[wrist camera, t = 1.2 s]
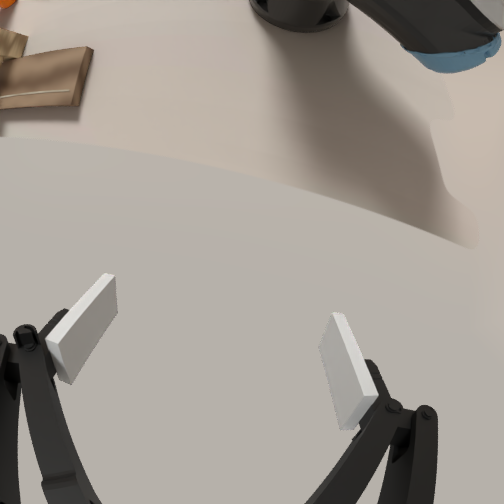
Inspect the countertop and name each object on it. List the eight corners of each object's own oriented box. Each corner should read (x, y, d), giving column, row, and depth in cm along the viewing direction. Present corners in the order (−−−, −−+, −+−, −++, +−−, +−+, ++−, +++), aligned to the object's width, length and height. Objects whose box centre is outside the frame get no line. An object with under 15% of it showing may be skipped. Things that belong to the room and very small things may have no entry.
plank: (-3, 66, 29) (-10, 65, 26) (93, 49, 31) (86, 46, 29) (-13, 111, 32) (-21, 111, 30) (78, 105, 35) (70, 104, 32)
